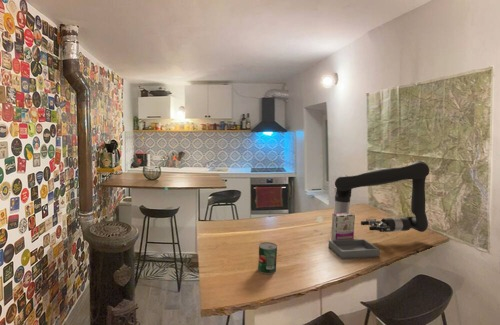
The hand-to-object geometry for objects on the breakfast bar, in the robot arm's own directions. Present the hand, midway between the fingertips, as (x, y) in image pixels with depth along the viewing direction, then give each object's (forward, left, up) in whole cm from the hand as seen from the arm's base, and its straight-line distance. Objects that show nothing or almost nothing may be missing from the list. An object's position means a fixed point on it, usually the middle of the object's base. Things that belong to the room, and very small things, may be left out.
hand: (365, 225), depth 164 cm
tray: (+12, -13, -9) cm, 20 cm away
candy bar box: (0, -13, -10) cm, 17 cm away
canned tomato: (+25, -61, -10) cm, 67 cm away
